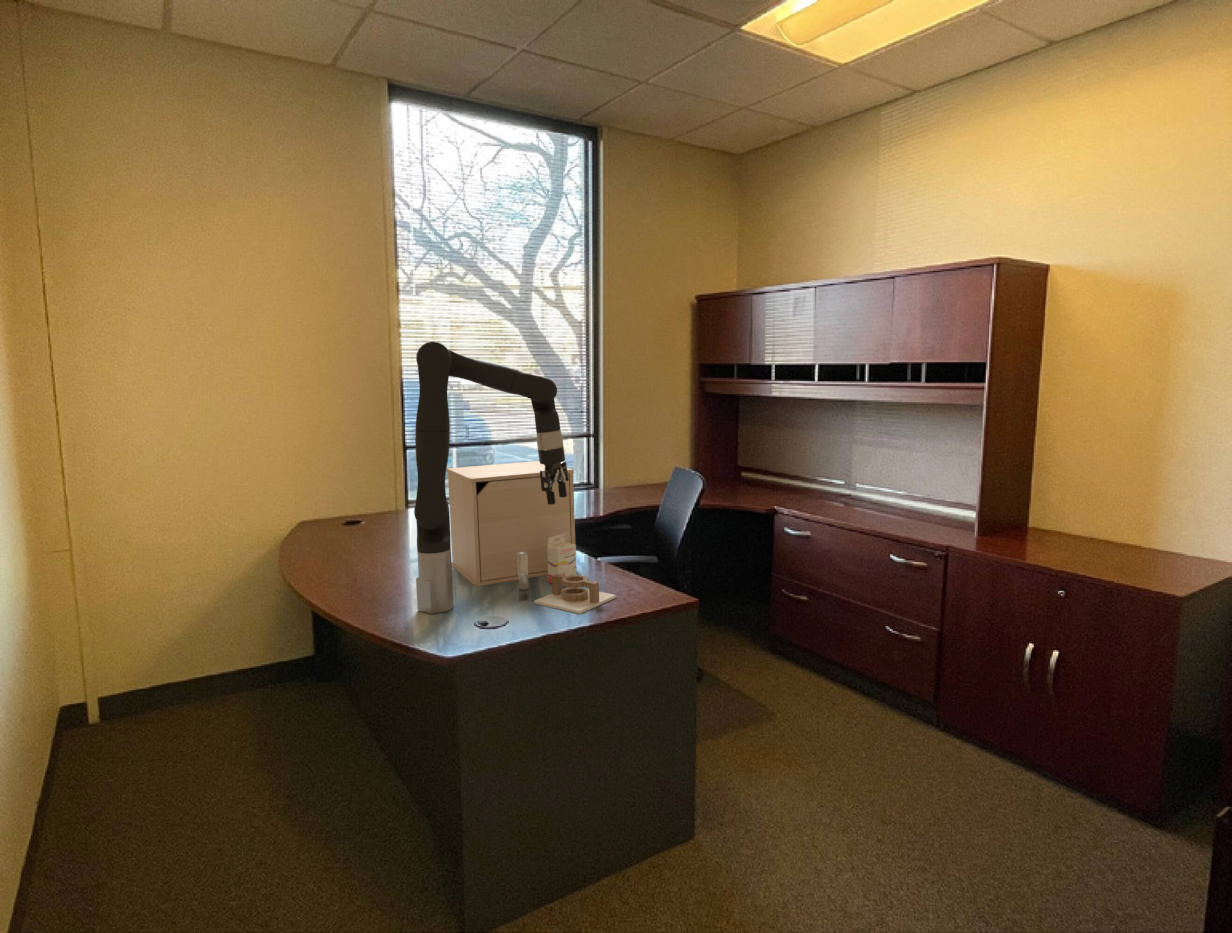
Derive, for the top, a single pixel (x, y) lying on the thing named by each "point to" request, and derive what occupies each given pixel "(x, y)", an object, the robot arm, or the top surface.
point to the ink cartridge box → (561, 557)
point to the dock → (573, 605)
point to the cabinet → (505, 520)
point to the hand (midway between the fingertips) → (557, 500)
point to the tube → (523, 575)
